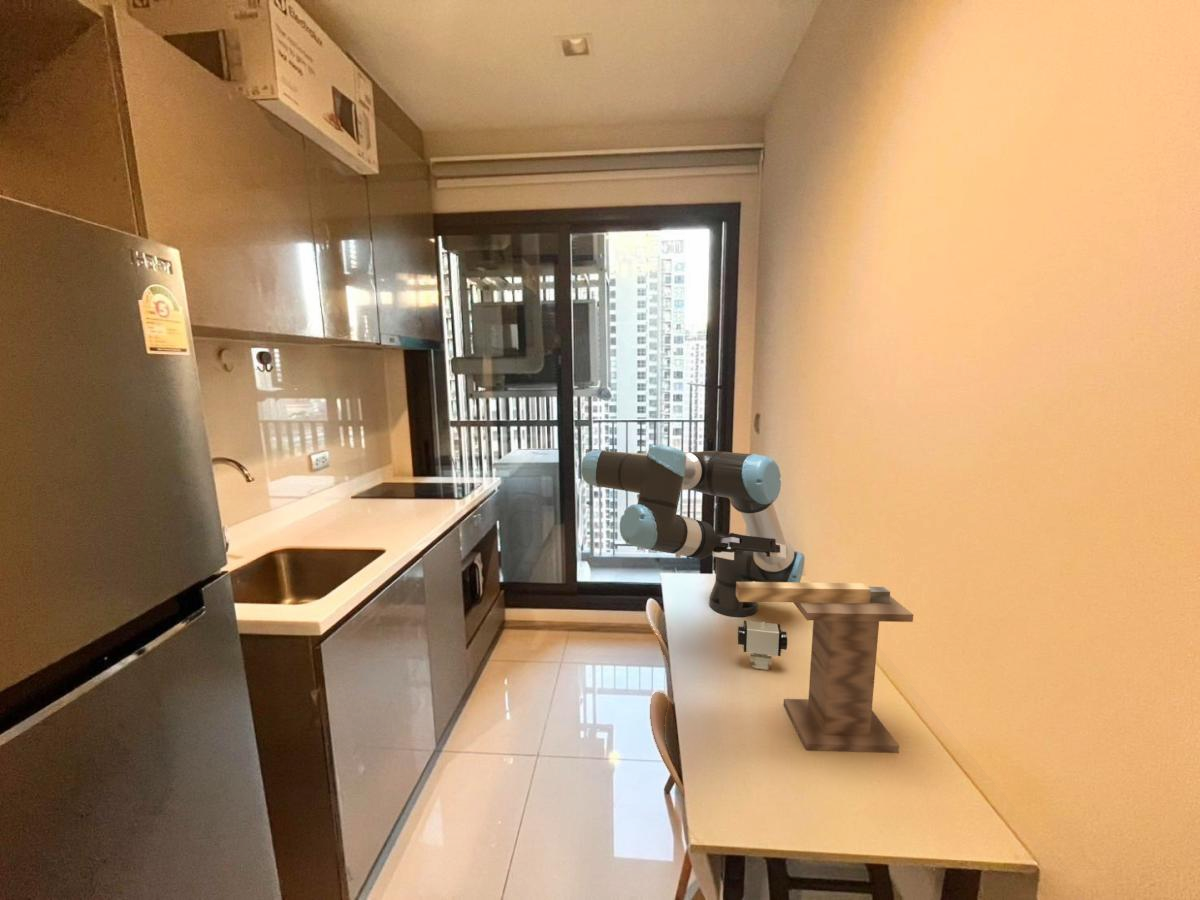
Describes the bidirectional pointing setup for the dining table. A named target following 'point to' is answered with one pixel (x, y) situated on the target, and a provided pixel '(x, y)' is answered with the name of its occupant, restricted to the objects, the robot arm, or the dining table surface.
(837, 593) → the brown streaked block
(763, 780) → the dining table surface
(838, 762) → the dining table surface
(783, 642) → the pneumatic valve
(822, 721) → the shelf stand
